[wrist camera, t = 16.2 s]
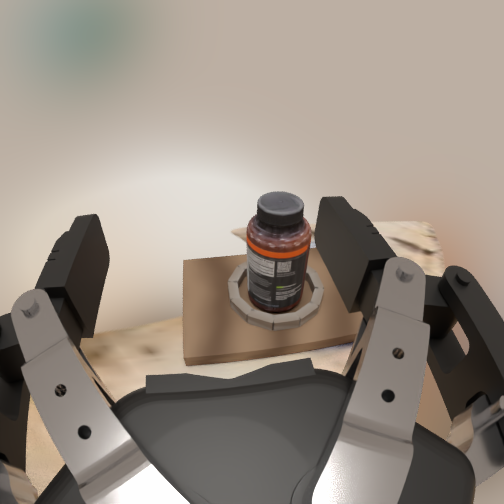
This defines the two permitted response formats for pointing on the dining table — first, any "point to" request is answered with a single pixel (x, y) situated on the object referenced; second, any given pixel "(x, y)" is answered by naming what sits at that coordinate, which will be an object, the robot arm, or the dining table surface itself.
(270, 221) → the supplement bottle
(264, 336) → the walnut board
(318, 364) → the dining table surface
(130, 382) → the dining table surface
